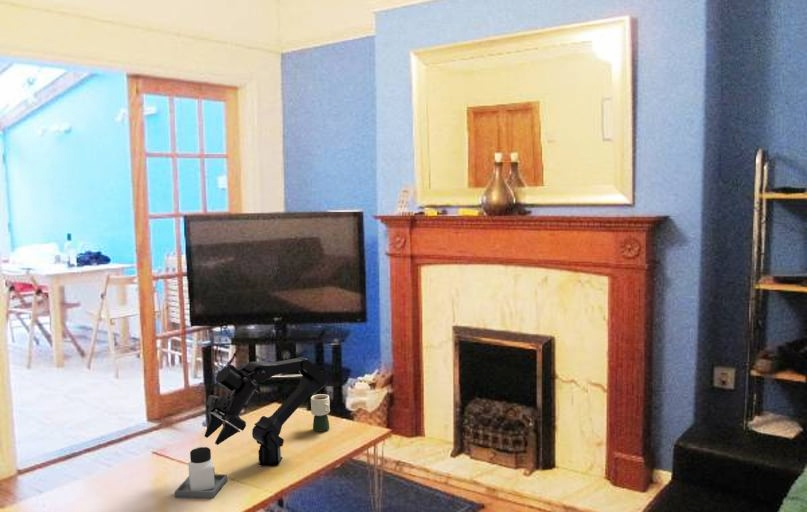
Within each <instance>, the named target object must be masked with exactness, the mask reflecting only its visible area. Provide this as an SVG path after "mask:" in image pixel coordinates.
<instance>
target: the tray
mask: <svg viewBox="0 0 807 512" xmlns="http://www.w3.org/2000/svg"><path fill="white" fill-rule="evenodd" d="M227 482H228V474H218V473H217V474H216V473H215V489H210V490H204V491H191V488H190V482H189V476H188V477H186V479H185V480H184V481H182V483H180V484H179V486H178V487H177V488H176V489H175V491H174V498H175V499H176V498H177V499H179V498H180V499H214V498H216V496H217V495H218V494H219V492H220V491H221V490H222V488H223V487H224V486H225V485H226V483H227Z"/></svg>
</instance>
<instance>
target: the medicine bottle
mask: <svg viewBox="0 0 807 512" xmlns="http://www.w3.org/2000/svg"><path fill="white" fill-rule="evenodd" d="M189 454H190V455H189V457H190V461H189V462H187V463H188V477H189V482H190V488H191V491H204V490H210V489H215V474H216V473H215V465H214V461H213V459H212V456H211V455H212V453H211V448H210V447H208V446H197V447H195V448H193V449H192V450H191V451H189Z"/></svg>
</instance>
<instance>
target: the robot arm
mask: <svg viewBox="0 0 807 512" xmlns="http://www.w3.org/2000/svg"><path fill="white" fill-rule="evenodd" d="M293 372H299V374H300V376H301V378H300V381H299V385H298V387H297V388H295V390H294V391H293V392H292V393H291V394H290V395H289V396H288V397H287V398H286V399H285V401H284V402H283V403H281V404H280V406H279V407H278V408H277V409H276V410H275V411H274V412H273V413H272V414H271V415H270V416H265V415H262V416H261V417H260V418H259V419H258V421H257V422H255V423H254V426H253V428H252V430H251V432H252V433H251V434H252V435H251V436H252V438H253V439H254V440H255V441H256V443H257V445H259V449H258V452H257V453H258V462H259V464H258V466H259V467H278V466H279V465H280V463H281V462H282V460H283V457H282V454H281V453H282V451H281V448H282V447H283V446H284V442H285V439H284V438H282V437H281V436H279V435H281V432H282V427H283V426H284V424H285V423H286V422H287V421H288V419H290V417H291V416H292V415H293V414H294V413H295V412H296V411H297V410H298V408H299V407H301V405H302V404H303V403H304V402H305V401H306V400H307V399H308V397H309V396H310V395H312V394H315V393H317V392H319V391H320V390H321V389H323V388H324V387H325V386H326V385H327V383H328V375H327V373H326V371H324V370H321V369H319V367H318V366H315V365H314V364H313V363H312V362H311V361H310V360H309V359H308V358H305V357H301V356H299V357H296V358H290V359H286V360H278V361H274V362H264V361H249V362H248V363H247V364H246V366H244V367H242V368H239V369H237V367H235V365H233V364H230V363H228V364H227V365H226V366H224V367H223V368H222V369H221V370H220V371H218V372H217V374H216V376H215V380H216V383H218V384H219V385H220V386H222V387H223V388H225V389H227V390H228V391H230V392H232V393H231V394H227V395H226V396H222V395H218V396H216V395H211V394H209V396H208V399H207V401H206V406H208V408H207V409H206V410H207V414H208V418H209V421H208V424H207V427H206V430H205V434H204V437H205V438H209V437H210V436H212V434H214V432H216V431H217V430H218V429H220V427H221V426H222V428H221V430H220V431H219V434H218V435H217V438H216V439H215V442H214V444H215V445H217V446H218V445H220V444H221V443H223V442H225V441H226V440H228V439H229V438H230V437H232V436H234V435H235V434H238V433H241V431H242V432H243V431H244V430H245V428H246V427H247V421H245V420H244V419H242V418H241V417H240V414H241V412H242V411H243V409H247V407H248V405H247V404H248V402H249V400H250V399H251V398H252V396H253V394H254V393H255V392H257V393H259V394H260V393H262V389H261V384H260V383H262V382H265V381H267V380H270V379H271V378H272V377H274V376H277V375H283V374H286V373H288V374H289V373H293ZM246 379H247V380H246ZM253 381H254V382H253Z"/></svg>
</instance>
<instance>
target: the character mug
mask: <svg viewBox="0 0 807 512" xmlns="http://www.w3.org/2000/svg"><path fill="white" fill-rule="evenodd" d="M330 403H331V400H330V395H328V394H325V393H324V394H323V393H322V394H321V393H319V394H315V395H312V396H310V404H311V405H310V407H311V408H310V411H311V412H310V413H311V415H312V416H313V423H312V430H313V431H315V432H324V431H327V430H329V429H330V422H329V421H330V420H329V416H328V414H329V413H330V412H331V409H330V408H331V407H330Z"/></svg>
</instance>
